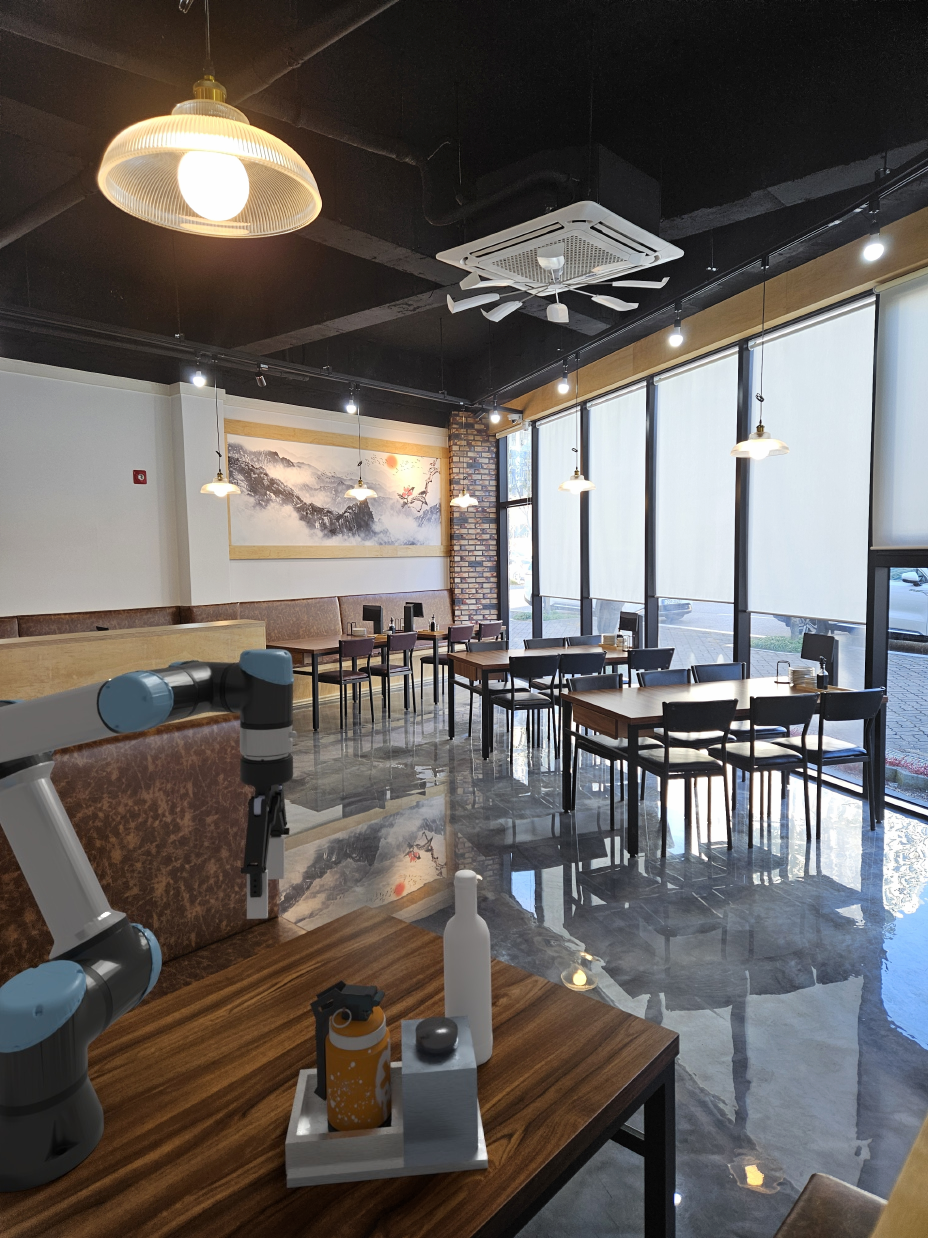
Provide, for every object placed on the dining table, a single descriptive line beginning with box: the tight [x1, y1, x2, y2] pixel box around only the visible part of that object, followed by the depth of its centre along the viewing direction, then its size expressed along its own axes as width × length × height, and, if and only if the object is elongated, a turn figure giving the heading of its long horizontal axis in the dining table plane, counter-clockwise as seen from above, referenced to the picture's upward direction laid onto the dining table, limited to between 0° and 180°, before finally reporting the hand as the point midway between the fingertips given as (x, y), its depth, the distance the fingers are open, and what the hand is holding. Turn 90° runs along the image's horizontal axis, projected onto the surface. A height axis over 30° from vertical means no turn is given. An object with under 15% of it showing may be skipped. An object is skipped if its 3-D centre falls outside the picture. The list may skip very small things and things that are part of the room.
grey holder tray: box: [284, 1015, 489, 1189], centre depth 99 cm, size 26×16×14 cm, turn 96°
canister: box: [309, 979, 392, 1133], centre depth 99 cm, size 9×11×20 cm
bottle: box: [442, 869, 494, 1067], centre depth 116 cm, size 8×8×30 cm
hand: (267, 897), depth 104 cm, fingers open, 13 cm apart
